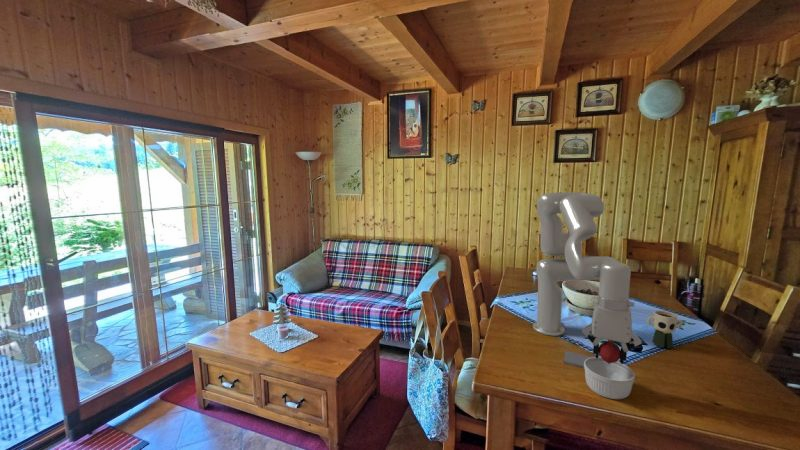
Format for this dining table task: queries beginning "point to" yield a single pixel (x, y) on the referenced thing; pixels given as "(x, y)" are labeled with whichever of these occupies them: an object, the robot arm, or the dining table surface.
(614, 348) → the onion
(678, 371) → the dining table surface
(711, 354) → the dining table surface
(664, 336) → the character mug
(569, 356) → the coaster
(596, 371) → the ramekin
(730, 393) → the dining table surface
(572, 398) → the dining table surface
